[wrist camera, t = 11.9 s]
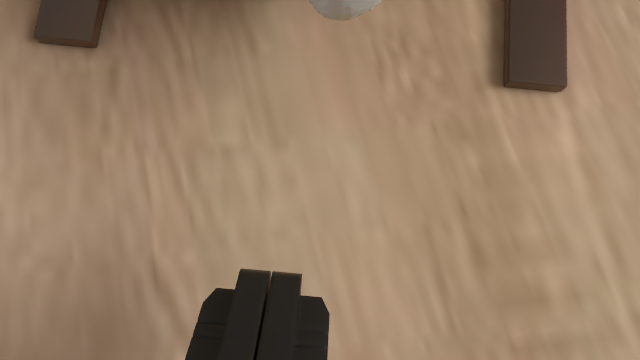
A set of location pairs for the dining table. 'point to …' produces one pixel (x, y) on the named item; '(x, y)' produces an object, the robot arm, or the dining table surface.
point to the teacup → (343, 8)
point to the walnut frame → (520, 37)
